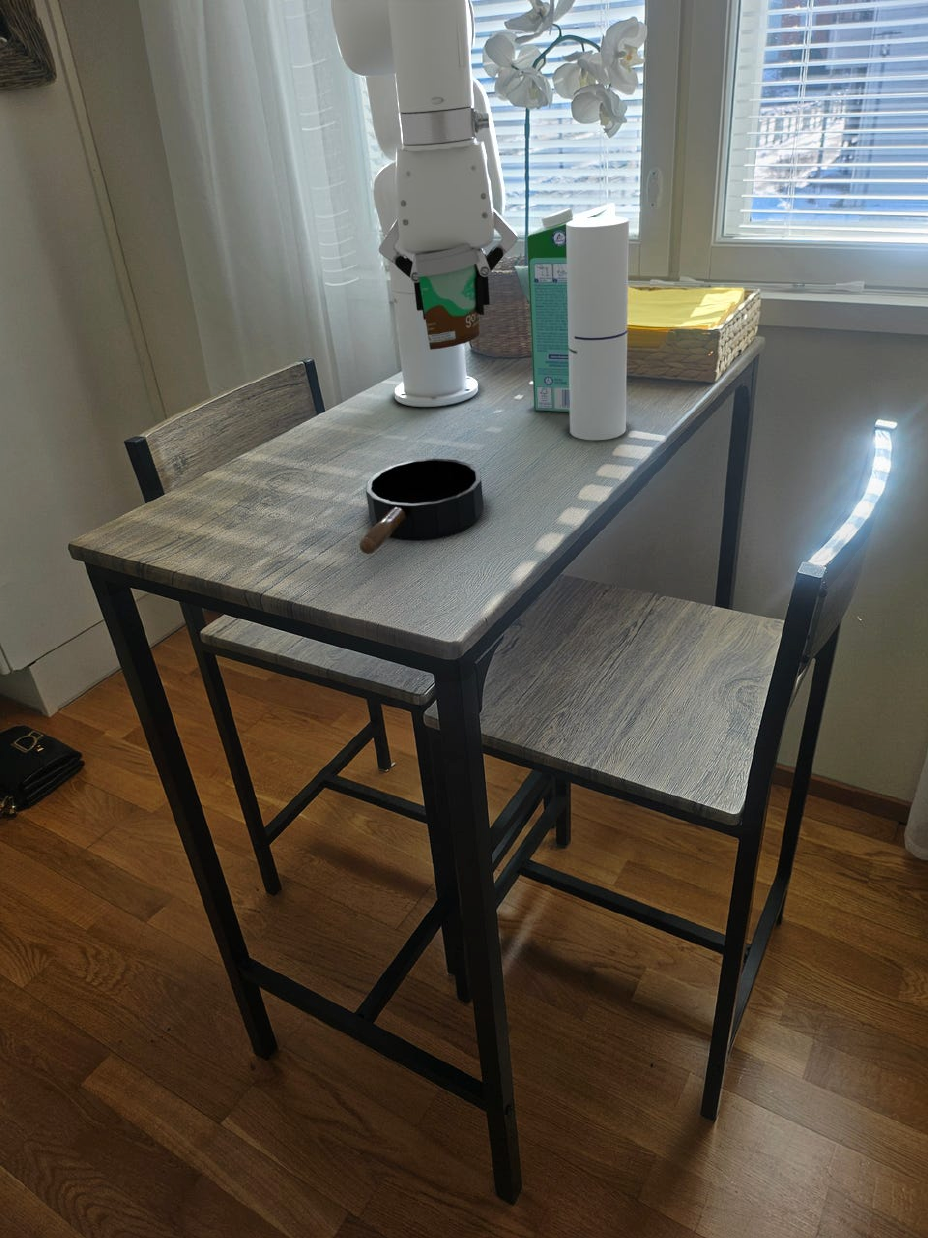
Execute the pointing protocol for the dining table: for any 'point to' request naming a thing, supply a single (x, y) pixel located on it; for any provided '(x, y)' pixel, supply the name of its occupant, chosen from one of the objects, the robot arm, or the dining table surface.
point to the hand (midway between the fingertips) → (453, 312)
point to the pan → (422, 501)
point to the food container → (449, 295)
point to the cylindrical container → (597, 325)
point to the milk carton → (551, 308)
